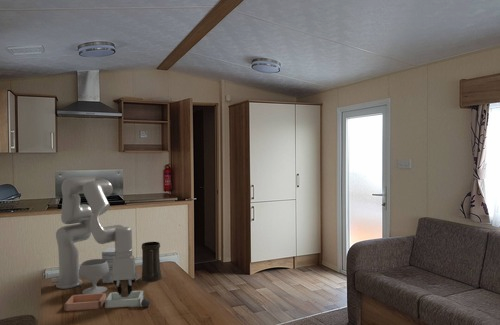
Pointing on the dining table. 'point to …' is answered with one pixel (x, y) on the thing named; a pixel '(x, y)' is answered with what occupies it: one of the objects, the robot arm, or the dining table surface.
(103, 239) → the robot arm
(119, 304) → the grey tub
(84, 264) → the chalice
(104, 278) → the supplement box
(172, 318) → the dining table surface
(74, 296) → the terracotta tub
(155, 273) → the beer stein
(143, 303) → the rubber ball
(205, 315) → the dining table surface
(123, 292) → the walnut peg
